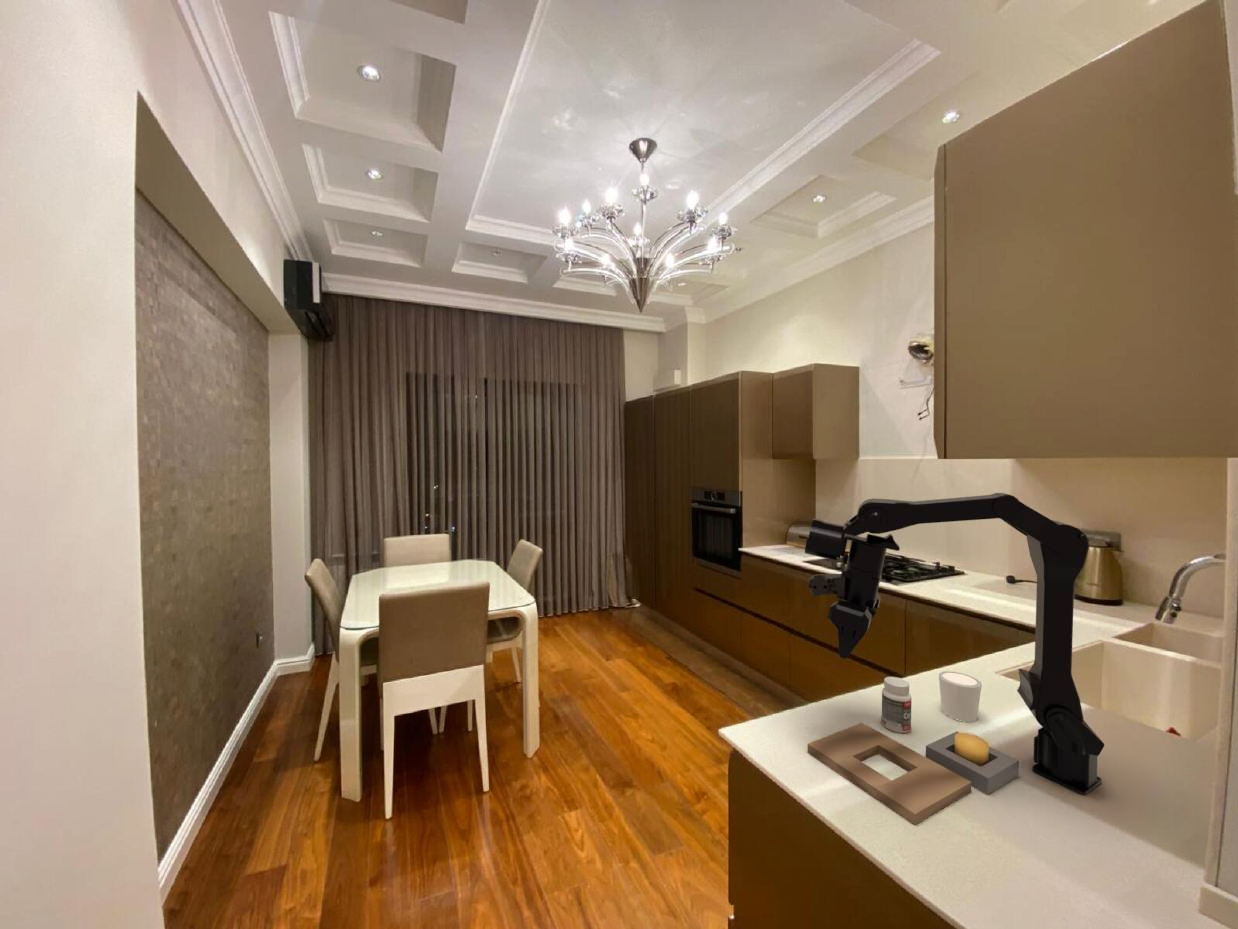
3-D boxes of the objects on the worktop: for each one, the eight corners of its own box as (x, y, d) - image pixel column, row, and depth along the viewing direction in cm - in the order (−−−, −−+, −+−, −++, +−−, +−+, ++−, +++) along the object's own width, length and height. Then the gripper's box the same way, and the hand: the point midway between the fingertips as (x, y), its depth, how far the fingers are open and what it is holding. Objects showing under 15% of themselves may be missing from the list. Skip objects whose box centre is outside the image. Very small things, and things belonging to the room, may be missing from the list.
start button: (994, 759, 77) (994, 744, 77) (979, 768, 75) (979, 752, 75) (963, 745, 81) (964, 730, 81) (948, 752, 79) (949, 737, 79)
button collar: (1018, 776, 76) (1018, 760, 76) (988, 795, 72) (988, 778, 72) (956, 745, 84) (956, 731, 84) (925, 760, 80) (925, 745, 80)
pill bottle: (909, 737, 87) (910, 690, 86) (879, 727, 89) (880, 682, 89) (912, 725, 90) (913, 680, 90) (883, 716, 93) (884, 673, 93)
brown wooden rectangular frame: (971, 792, 72) (971, 782, 72) (914, 825, 66) (915, 814, 66) (861, 730, 88) (861, 722, 88) (807, 752, 82) (807, 743, 82)
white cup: (929, 709, 96) (930, 674, 96) (951, 702, 99) (952, 668, 99) (967, 727, 90) (967, 690, 89) (988, 719, 93) (989, 682, 92)
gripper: (827, 548, 100) (812, 620, 101) (805, 563, 84) (789, 648, 86) (888, 564, 94) (871, 641, 95) (877, 583, 78) (857, 674, 80)
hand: (847, 649), depth 89 cm, fingers open, 9 cm apart
